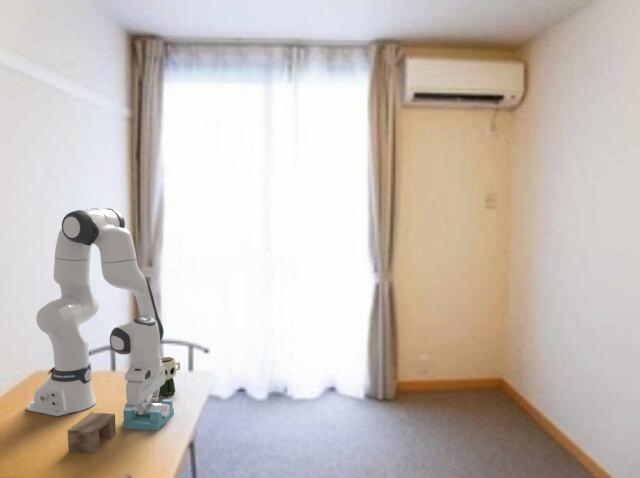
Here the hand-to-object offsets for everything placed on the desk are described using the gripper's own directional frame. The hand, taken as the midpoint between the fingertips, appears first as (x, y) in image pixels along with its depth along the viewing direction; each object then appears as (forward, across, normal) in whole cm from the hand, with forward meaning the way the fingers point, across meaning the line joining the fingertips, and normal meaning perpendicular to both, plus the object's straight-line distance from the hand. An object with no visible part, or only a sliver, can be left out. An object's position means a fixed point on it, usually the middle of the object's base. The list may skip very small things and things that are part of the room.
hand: (148, 407), depth 173 cm
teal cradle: (+5, 0, 0) cm, 5 cm away
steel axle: (+1, 0, 0) cm, 1 cm away
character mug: (+5, -22, -4) cm, 23 cm away
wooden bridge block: (+5, +16, -10) cm, 19 cm away
